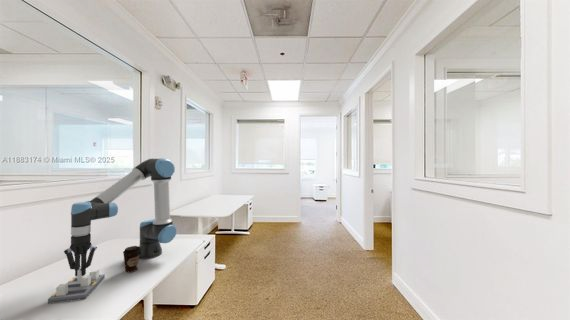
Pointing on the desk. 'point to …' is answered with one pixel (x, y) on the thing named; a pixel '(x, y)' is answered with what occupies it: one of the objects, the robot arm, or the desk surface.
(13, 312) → the desk surface
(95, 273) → the tab
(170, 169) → the robot arm
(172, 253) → the desk surface
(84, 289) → the switch board
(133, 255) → the coffee cup
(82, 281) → the tab
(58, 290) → the tab
